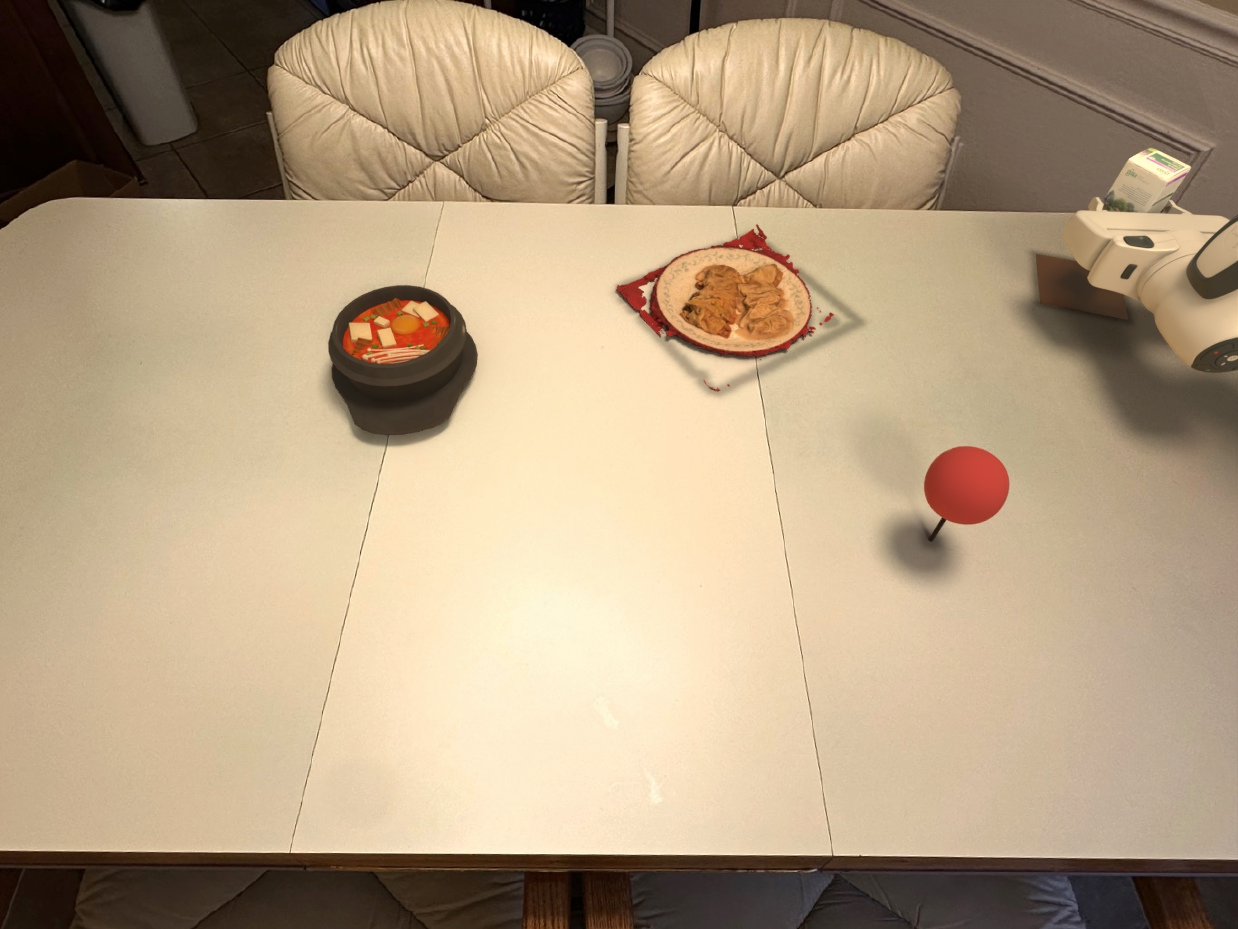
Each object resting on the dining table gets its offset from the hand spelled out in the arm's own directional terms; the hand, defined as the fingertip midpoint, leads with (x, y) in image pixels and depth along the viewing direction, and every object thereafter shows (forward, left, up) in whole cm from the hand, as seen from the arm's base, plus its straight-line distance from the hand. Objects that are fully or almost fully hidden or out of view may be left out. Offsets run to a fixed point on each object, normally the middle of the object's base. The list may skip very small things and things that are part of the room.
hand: (1128, 202), depth 100 cm
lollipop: (+20, +53, -14) cm, 58 cm away
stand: (0, +1, -14) cm, 14 cm away
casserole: (+87, +46, -14) cm, 99 cm away
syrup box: (0, +1, -8) cm, 8 cm away
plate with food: (+48, +21, -14) cm, 54 cm away
